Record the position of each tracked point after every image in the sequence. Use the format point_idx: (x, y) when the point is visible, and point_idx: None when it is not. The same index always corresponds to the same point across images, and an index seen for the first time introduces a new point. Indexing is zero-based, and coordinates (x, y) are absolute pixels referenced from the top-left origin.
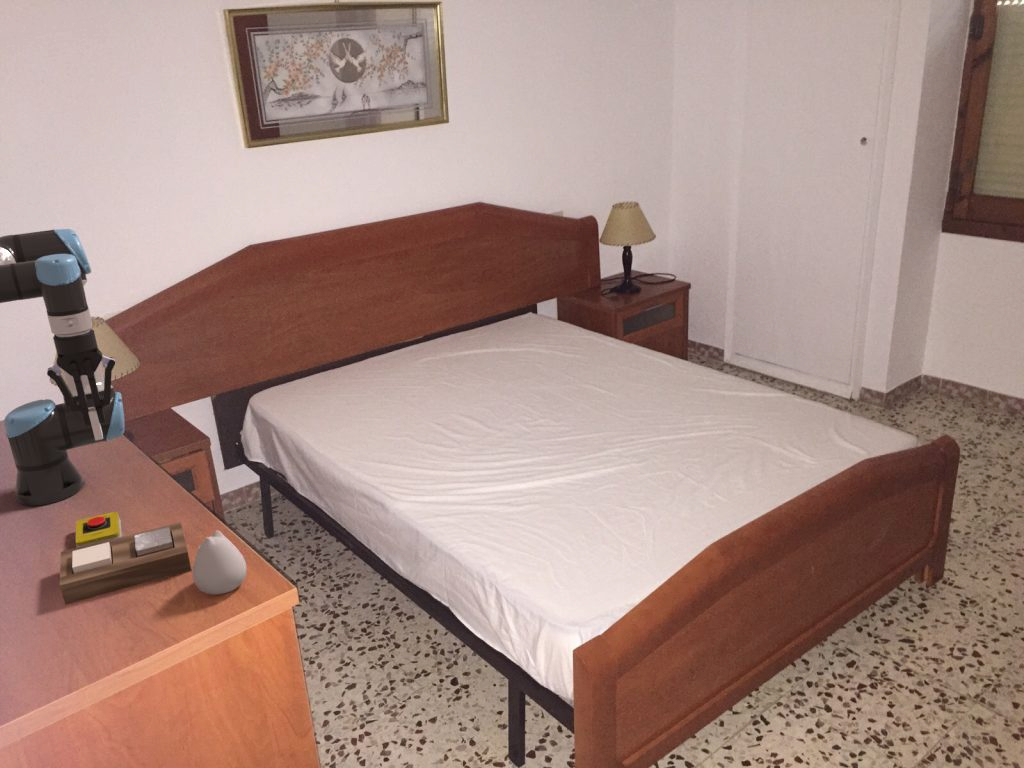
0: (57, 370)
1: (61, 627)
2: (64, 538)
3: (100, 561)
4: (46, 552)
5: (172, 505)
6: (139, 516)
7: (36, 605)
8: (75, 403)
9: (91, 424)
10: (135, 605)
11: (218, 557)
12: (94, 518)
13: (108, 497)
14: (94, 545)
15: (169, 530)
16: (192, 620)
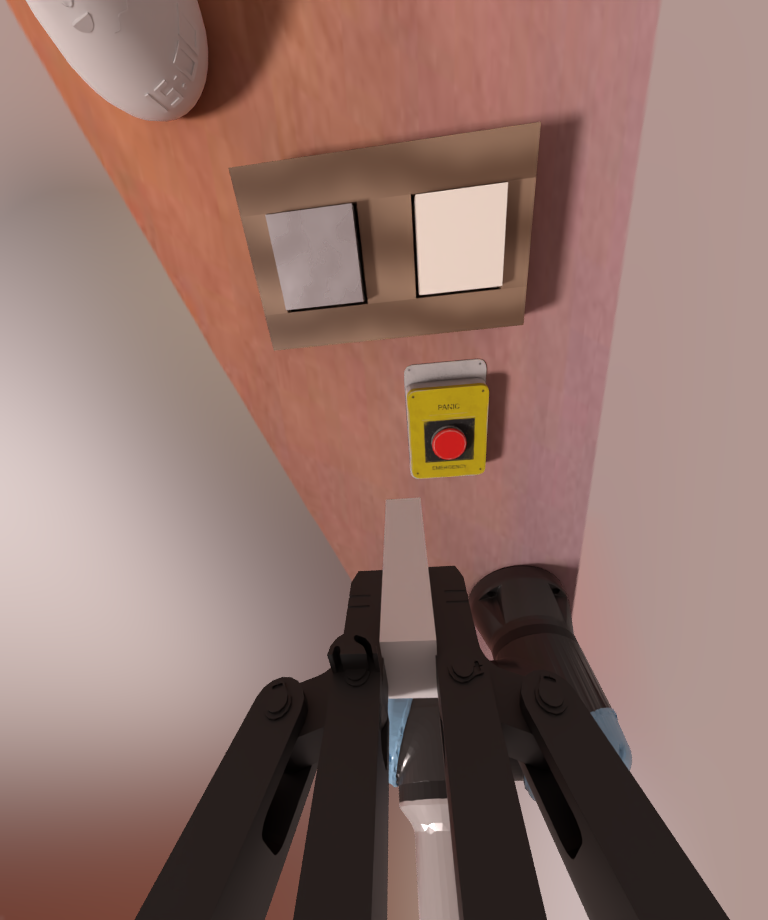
0: None
1: (537, 3)
2: (504, 447)
3: (439, 191)
4: (537, 409)
5: (325, 484)
6: (379, 470)
7: (578, 176)
8: (546, 757)
9: (426, 561)
10: (363, 41)
11: None
12: (452, 455)
13: (431, 550)
14: (453, 321)
15: (282, 290)
16: None
